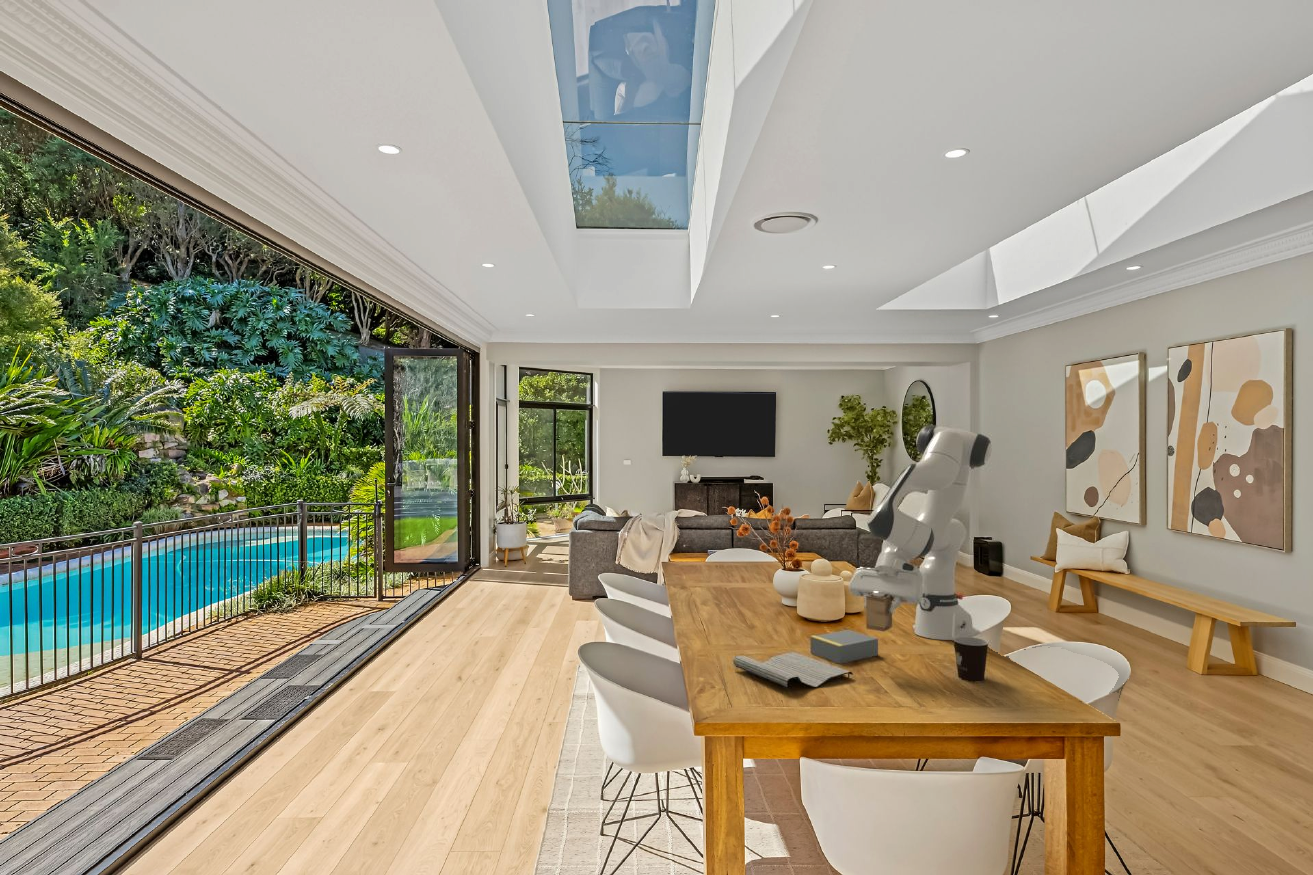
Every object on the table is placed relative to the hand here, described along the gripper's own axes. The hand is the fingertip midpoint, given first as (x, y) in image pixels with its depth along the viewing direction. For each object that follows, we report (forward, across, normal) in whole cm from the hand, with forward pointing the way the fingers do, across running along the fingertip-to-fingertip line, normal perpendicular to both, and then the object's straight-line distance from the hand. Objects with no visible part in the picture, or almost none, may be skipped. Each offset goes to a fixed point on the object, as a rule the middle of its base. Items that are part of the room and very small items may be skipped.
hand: (878, 610), depth 188 cm
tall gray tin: (+3, 0, +4) cm, 5 cm away
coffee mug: (+3, +21, +21) cm, 30 cm away
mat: (+24, -18, +1) cm, 30 cm away
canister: (-3, 0, -2) cm, 3 cm away
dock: (+5, -15, +20) cm, 25 cm away
